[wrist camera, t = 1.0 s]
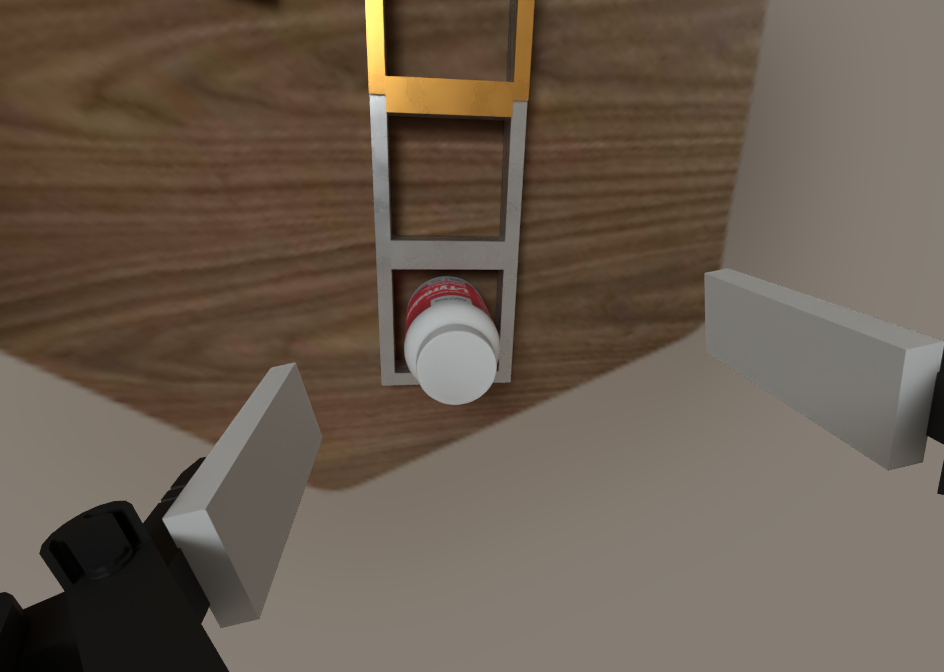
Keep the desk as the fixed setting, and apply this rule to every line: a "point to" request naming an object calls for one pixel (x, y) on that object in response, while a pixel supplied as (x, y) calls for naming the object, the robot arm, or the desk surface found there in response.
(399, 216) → the desk surface
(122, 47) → the desk surface
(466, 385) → the pill bottle
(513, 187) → the socket rail
